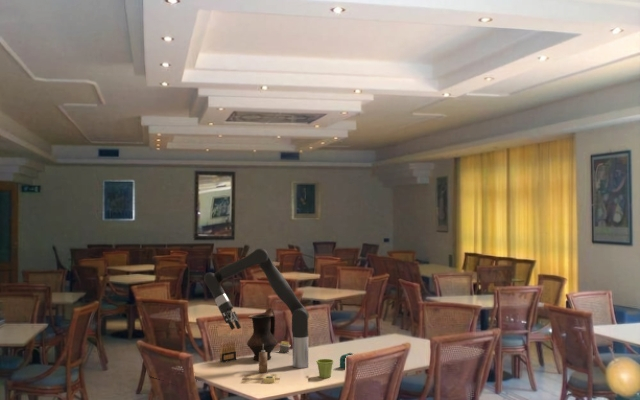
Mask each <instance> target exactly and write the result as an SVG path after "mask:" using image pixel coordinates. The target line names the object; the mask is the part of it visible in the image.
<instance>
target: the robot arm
mask: <svg viewBox="0 0 640 400" xmlns="http://www.w3.org/2000/svg"><path fill="white" fill-rule="evenodd" d="M254 266H259V268H260V269H261V270H262V271H263V273H264V275H265V277H266V279H267V281H268V283H269V284H270V287H271V289H272V290H273V292H274V293H275V294H276V296H277V297H278V298H279V299H280V300H281V301H282V302H283V303H284V304H285V305H286V306H287V308H288V309H289V311H290V313H291V315H292V316H291V333H292V362H291V363H292V367H293V368H297V369H299V368H300V369H301V368H309V361H310V360H309V329H308V328H309V326H308V324H309V322H308V320H309V317H310V315H309V311H308V310H307V309H306V308H305V306H304V305H303V304H302V302H300V300H299V299H298V297H297V296H296V294H295V292H294V290H293V289H292V287H291V286H290V284H289V283H288V281H287V280H286V278H285V277H284V275H283V274H282V273H281V272H280V270H278V268H277V267H276V266H275V264H274V263H273V261H272V259H271V257H270V254H269V253H268V251H267V250H266V249H264V248H256V249H254V251H252V252H251V253H249V254H248V255H247V256H245V257H243V258H240V259H239V260H237V261H236V260H235V261H234V262H231V263H229V264H227V265H225V266H223V267H220V268H219V270H217V271H216V272H209V271H208V272H207V273H205V274H204V276H203V280H204V284H205V285H206V287H207V288H208V289H209V291H210V294H211V295H212V297H213V299H214V301H215V304H216V306H217V308H218V310H219V312H220V314H221V315H222V318H223V320H224V322H225V324H227V325H228V326H229V328H230V329H231V330H232V331H233V330H234V329H237V330H240V329H241V328H242V325H241V324H240V319H239V316H238V315H237V313H236V311H232V310H233V309H234V306H233V305H232V302H231V301H230V299H229V297H228V295H227V293H226V291H225V290H224V288H223V286H222V285H221V284H220V283H222V282H223V281H225V280H227V279H229V278H231V277H233V276H235V275H238V274H239V273H241V272H243V271H245V270H247V269H249V268H251V267H254Z"/></svg>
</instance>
